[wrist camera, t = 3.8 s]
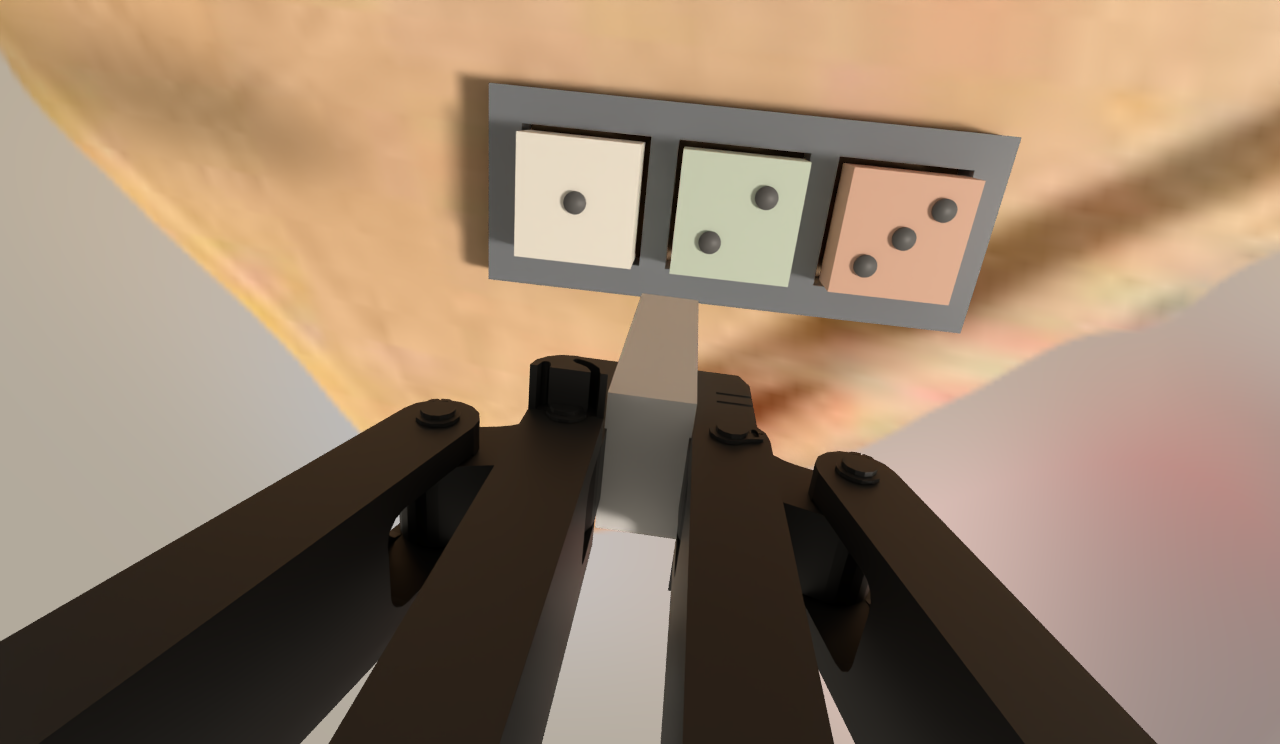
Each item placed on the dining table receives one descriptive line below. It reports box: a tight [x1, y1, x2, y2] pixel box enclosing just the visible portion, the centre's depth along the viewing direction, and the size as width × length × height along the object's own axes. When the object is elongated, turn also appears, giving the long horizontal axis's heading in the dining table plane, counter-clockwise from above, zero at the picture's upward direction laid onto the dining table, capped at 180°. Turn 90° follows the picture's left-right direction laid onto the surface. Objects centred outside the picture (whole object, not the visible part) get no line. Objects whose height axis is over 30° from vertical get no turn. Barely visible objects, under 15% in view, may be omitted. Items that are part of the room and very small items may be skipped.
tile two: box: [669, 146, 812, 287], centre depth 32 cm, size 6×6×3 cm
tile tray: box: [489, 83, 1021, 333], centre depth 34 cm, size 26×10×2 cm, turn 85°
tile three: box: [819, 163, 986, 305], centre depth 31 cm, size 6×6×3 cm
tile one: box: [514, 130, 645, 269], centre depth 32 cm, size 6×6×3 cm
